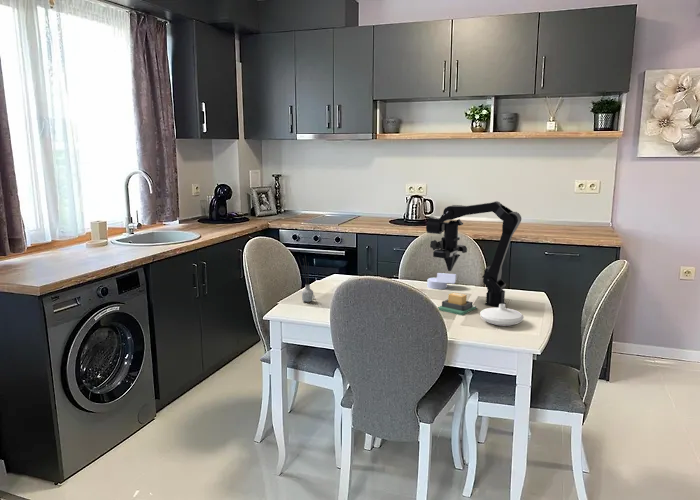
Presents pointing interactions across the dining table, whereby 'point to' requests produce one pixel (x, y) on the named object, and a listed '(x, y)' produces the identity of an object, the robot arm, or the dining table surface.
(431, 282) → the wedge on round base
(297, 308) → the dining table surface
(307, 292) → the reed diffuser
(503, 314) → the vase
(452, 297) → the plug
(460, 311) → the socket board
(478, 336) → the dining table surface
